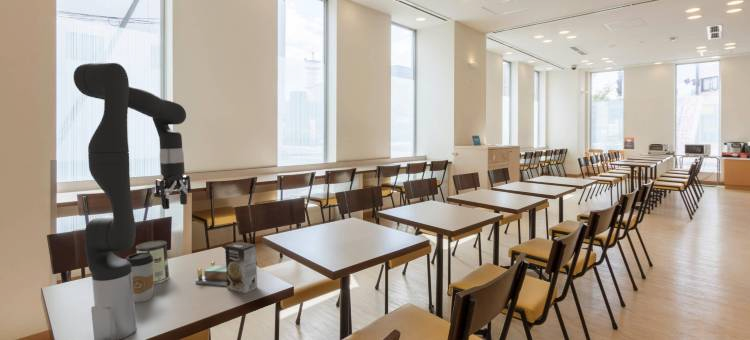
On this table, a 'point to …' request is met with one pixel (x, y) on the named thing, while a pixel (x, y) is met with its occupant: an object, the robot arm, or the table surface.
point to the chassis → (210, 281)
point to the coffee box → (241, 266)
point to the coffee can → (157, 259)
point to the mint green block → (216, 273)
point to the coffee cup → (142, 275)
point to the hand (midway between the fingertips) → (175, 206)
